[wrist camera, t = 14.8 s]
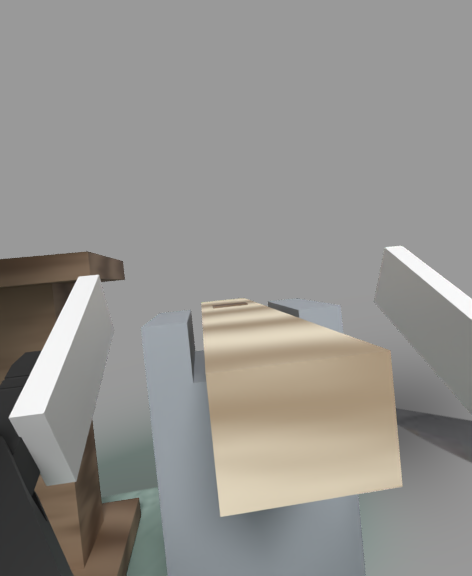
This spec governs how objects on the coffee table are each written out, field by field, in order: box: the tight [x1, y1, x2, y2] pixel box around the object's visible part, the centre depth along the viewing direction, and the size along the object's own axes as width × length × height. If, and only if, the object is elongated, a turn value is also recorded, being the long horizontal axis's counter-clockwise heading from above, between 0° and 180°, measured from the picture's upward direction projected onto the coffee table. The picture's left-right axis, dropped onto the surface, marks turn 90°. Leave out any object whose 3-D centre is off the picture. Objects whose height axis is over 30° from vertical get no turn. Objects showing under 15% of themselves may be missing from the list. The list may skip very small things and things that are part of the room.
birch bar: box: [202, 298, 402, 517], centre depth 20 cm, size 26×4×3 cm, turn 6°
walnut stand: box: [0, 252, 141, 576], centre depth 32 cm, size 12×14×28 cm
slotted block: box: [141, 298, 366, 576], centre depth 22 cm, size 8×10×23 cm
